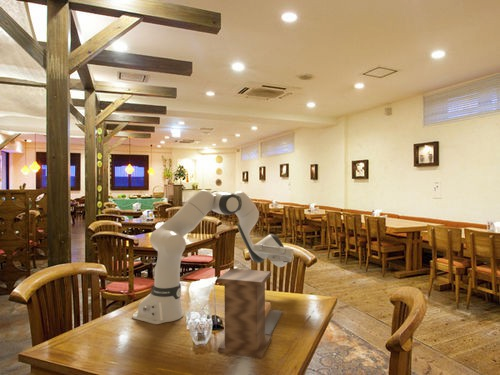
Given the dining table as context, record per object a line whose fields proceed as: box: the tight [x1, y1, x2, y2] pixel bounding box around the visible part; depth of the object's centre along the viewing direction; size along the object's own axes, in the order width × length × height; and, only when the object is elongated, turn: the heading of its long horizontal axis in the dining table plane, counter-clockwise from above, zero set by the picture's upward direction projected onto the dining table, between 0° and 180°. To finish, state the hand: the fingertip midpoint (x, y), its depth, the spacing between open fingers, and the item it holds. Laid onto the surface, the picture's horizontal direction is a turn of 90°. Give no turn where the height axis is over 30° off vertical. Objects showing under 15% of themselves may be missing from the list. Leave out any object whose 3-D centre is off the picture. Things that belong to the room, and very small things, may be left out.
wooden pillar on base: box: [217, 268, 272, 359], centre depth 121 cm, size 16×14×26 cm
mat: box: [265, 309, 283, 337], centre depth 141 cm, size 14×24×1 cm, turn 163°
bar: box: [265, 301, 272, 317], centre depth 143 cm, size 3×22×3 cm, turn 163°
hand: (270, 247), depth 158 cm, fingers open, 8 cm apart
